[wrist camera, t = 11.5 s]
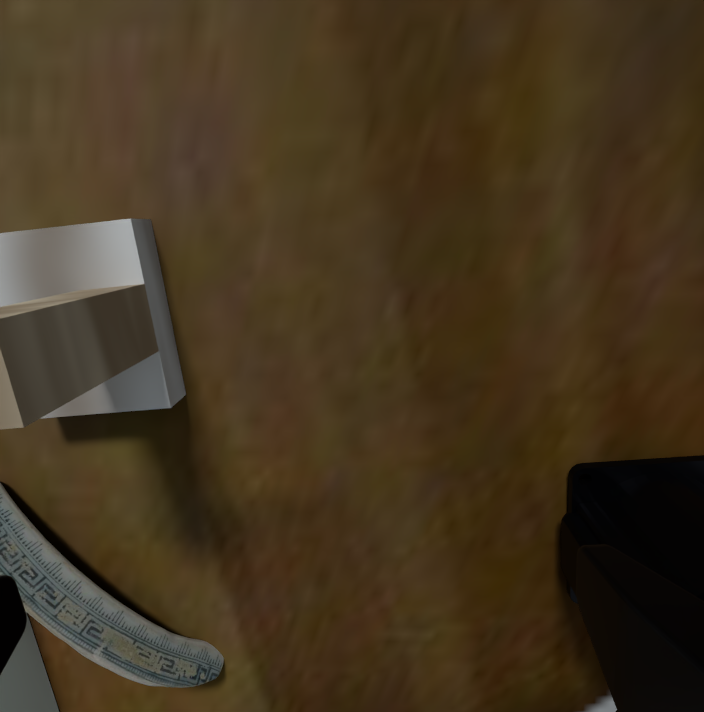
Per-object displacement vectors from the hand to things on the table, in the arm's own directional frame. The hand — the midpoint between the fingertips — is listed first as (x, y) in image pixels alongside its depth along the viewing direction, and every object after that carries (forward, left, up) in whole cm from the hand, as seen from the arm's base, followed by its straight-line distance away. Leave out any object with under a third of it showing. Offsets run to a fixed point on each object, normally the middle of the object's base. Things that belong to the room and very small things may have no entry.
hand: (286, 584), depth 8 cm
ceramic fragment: (+12, +9, -13) cm, 20 cm away
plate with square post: (+9, -3, -12) cm, 16 cm away
